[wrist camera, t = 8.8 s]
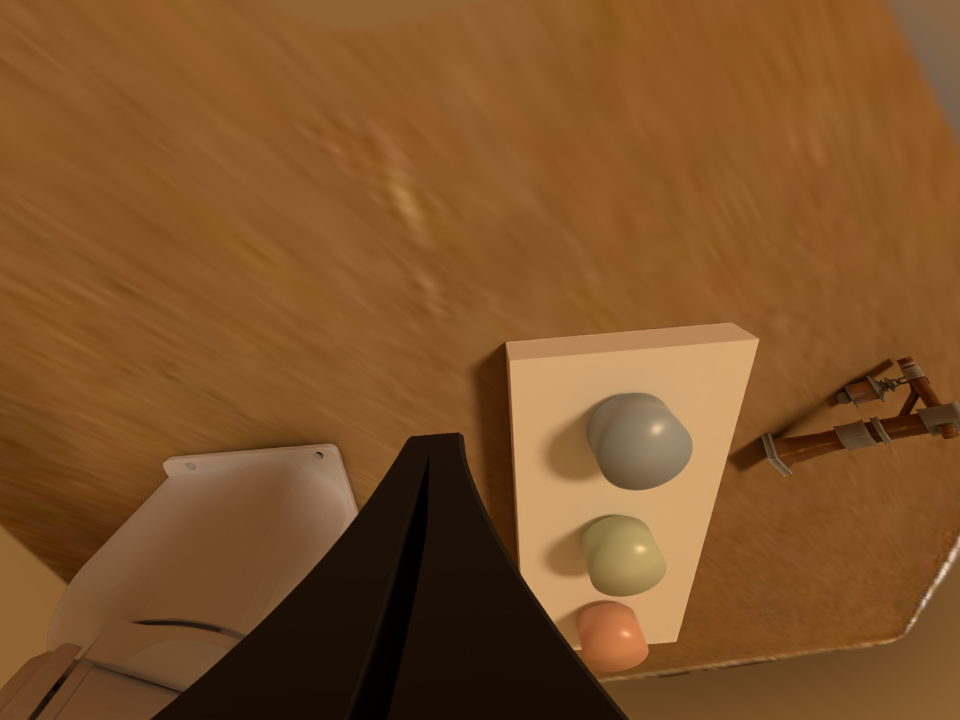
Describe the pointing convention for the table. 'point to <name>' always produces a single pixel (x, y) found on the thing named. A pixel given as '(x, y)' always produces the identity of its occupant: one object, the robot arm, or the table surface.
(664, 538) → the button panel
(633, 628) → the orange rounded dome
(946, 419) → the wooden post with brackets
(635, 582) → the sage button
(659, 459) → the slate button
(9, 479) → the table surface
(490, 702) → the robot arm
